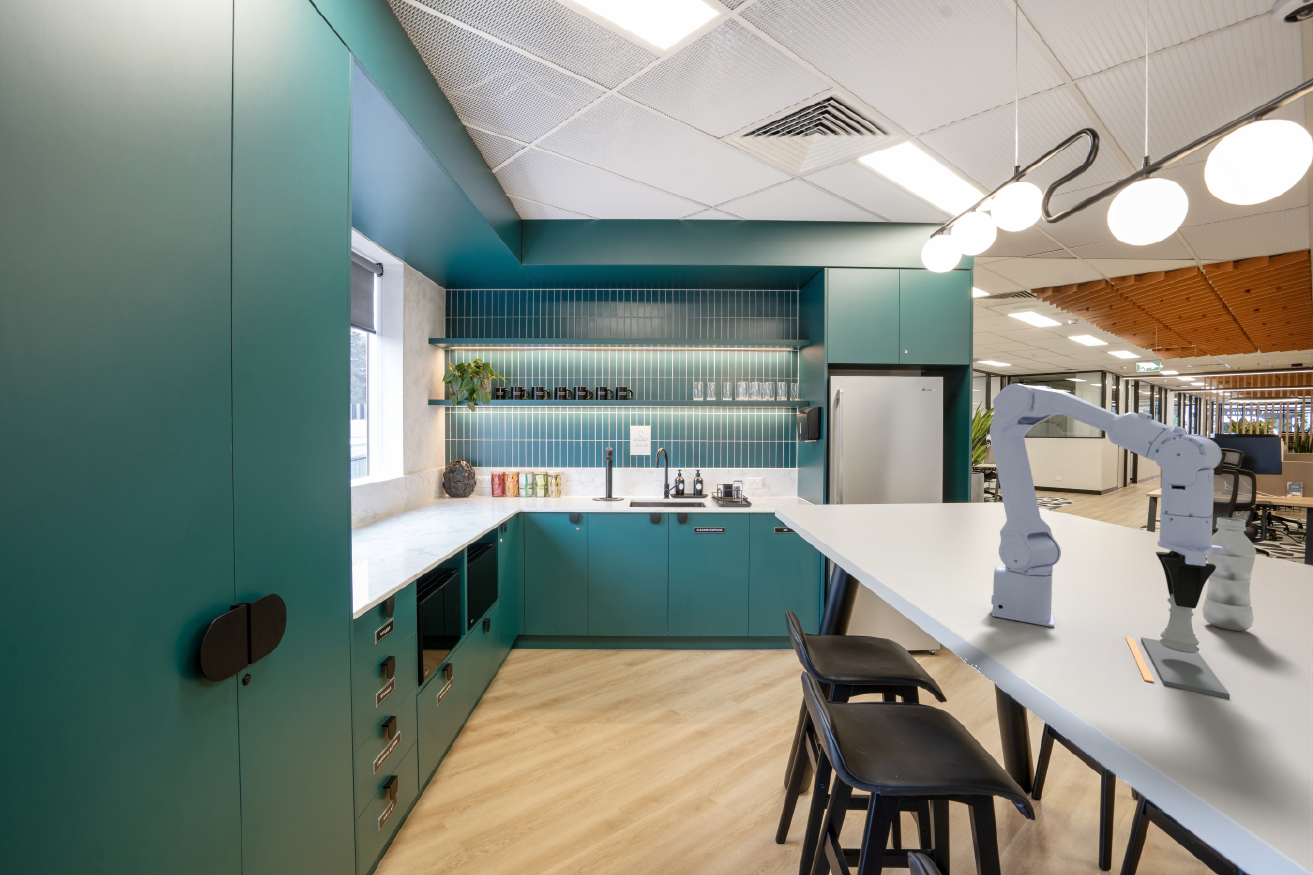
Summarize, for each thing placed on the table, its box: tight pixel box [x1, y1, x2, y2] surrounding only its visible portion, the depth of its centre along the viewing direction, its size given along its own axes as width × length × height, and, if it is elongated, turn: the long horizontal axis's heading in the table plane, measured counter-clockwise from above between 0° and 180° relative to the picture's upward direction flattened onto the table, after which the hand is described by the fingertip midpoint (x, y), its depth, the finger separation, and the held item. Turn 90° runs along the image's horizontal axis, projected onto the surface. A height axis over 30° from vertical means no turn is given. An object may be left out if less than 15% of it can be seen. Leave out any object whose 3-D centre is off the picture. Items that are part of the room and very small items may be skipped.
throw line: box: [1125, 636, 1155, 683], centre depth 86 cm, size 1×20×1 cm, turn 146°
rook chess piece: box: [1158, 594, 1200, 653], centre depth 84 cm, size 4×4×8 cm
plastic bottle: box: [1202, 517, 1257, 632], centre depth 100 cm, size 6×7×20 cm
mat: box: [1140, 636, 1231, 699], centre depth 83 cm, size 6×20×1 cm, turn 145°
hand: (1182, 603), depth 84 cm, fingers closed on rook chess piece, 3 cm apart
